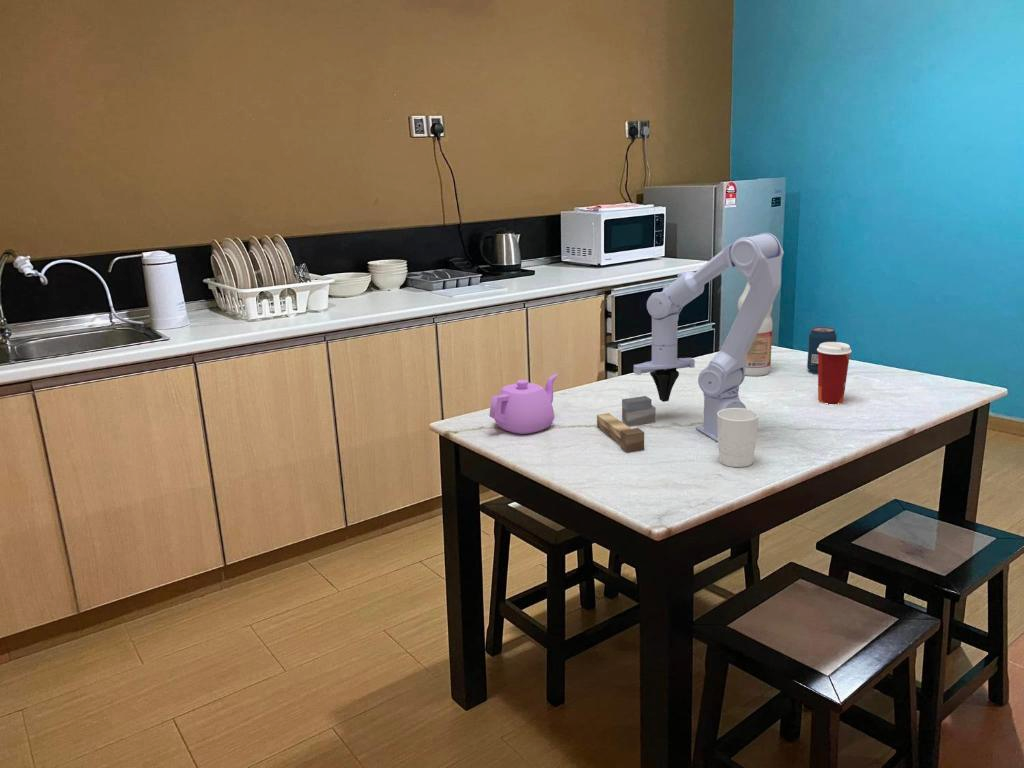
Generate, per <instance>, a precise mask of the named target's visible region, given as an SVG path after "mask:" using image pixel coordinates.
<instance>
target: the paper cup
mask: <svg viewBox="0 0 1024 768" xmlns="http://www.w3.org/2000/svg"><path fill="white" fill-rule="evenodd" d="M817 351H818V375H817V380H818V381H817V400H819V401H820V402H823V403H828V404H827V405H829V404H837V405H839V404H838V403H841V404H843V403H844V397H845V391H846V384H847V378H848V370H849V369H848V368H849V362H850V355H851V353H852V352H853V350H852V349H851V346H850V344H848V343H844V342H841V341H839V342H838V341H836V342H825V343H821V344H820V345H819V347H818V348H817ZM819 401H818V402H819ZM820 402H819V403H820ZM842 402H843V403H842ZM823 403H822V404H823Z"/></svg>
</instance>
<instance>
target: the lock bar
mask: <svg viewBox="0 0 1024 768" xmlns="http://www.w3.org/2000/svg"><path fill="white" fill-rule="evenodd" d="M652 403H653V402H652V398H650V397H648V396H647V395H643V396H635V397H629V398H622V399H621V408H623V409H625V410H626V411H633V410H640V409H646V408H651V405H652V406H653V404H652Z"/></svg>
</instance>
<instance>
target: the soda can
mask: <svg viewBox="0 0 1024 768" xmlns="http://www.w3.org/2000/svg"><path fill="white" fill-rule="evenodd" d="M837 336H838V335H837V334H836V331H835V328H833V327H830V326H829V327H828V326H816V327H812V329H811V331H810V332H809V335H808V348H807V364H806V365H807V366H806V367H807V370H808V372H809V373H810V374H812V373H813V375H817V374H818V351H817V348H818V347H819V345H820V344H821V343H825V342H837Z"/></svg>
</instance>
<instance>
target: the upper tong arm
mask: <svg viewBox="0 0 1024 768" xmlns="http://www.w3.org/2000/svg"><path fill="white" fill-rule="evenodd" d="M597 421H598V422H599V423H600V424H602V425H603V426H604V427H606V428H607V429H608V430H610V431H611V432H612V433H614V434H615V435H616V436H618V437H619V438H620V439H621V430H627V429H632V428H631V426H627V425H625V424H624V423H622V420H619V419H618V418H616V417H615V416H614V415H612V414H611V413H610V412H608V413H601V414H597V415H596V422H597Z"/></svg>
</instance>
